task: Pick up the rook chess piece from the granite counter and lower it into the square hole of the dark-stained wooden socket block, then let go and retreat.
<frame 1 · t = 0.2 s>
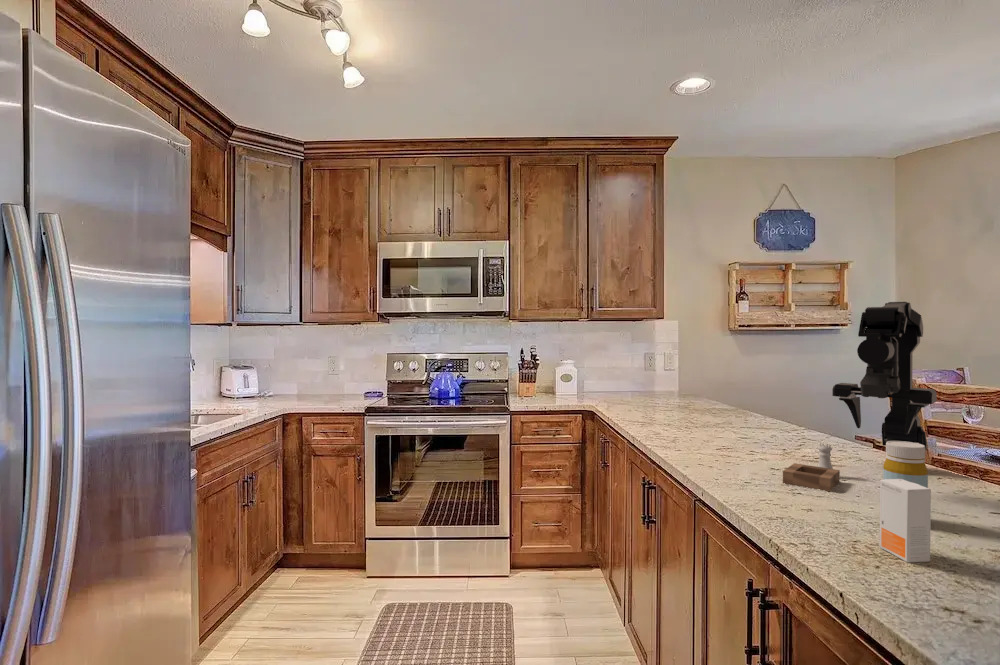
hand: (882, 430, 124), 14 cm above the worktop, tool pointing down, fingers open, 9 cm apart
rook chess piece: (824, 476, 138), on the worktop
skincare box: (904, 556, 91), on the worktop
socket: (811, 482, 132), on the worktop
bottle: (904, 521, 107), on the worktop
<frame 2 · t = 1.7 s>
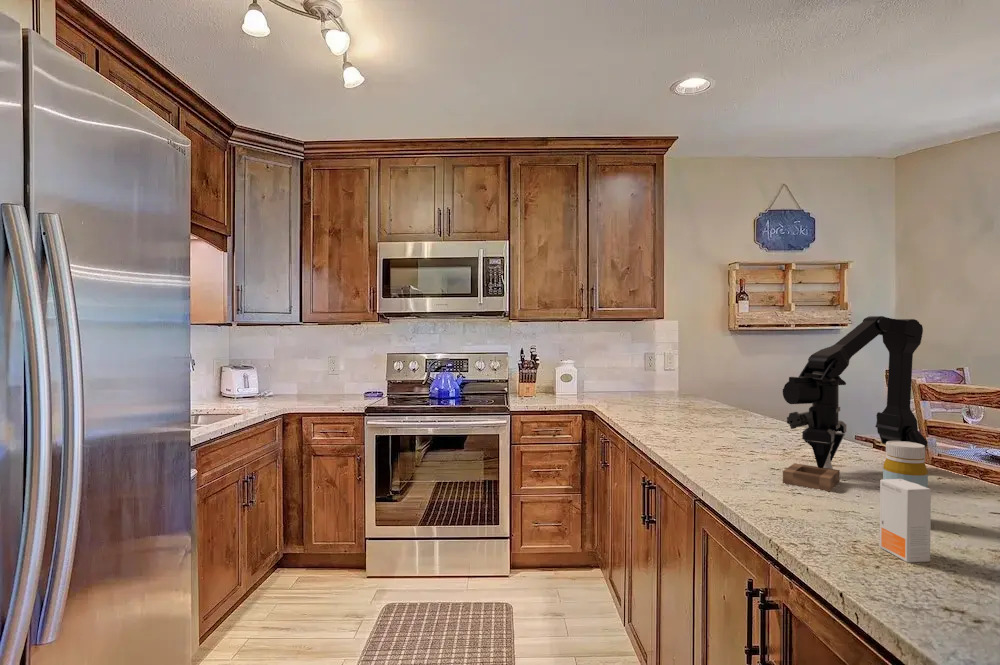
hand: (824, 464, 138), 3 cm above the worktop, tool pointing down, fingers open, 9 cm apart
nothing on the worktop moved.
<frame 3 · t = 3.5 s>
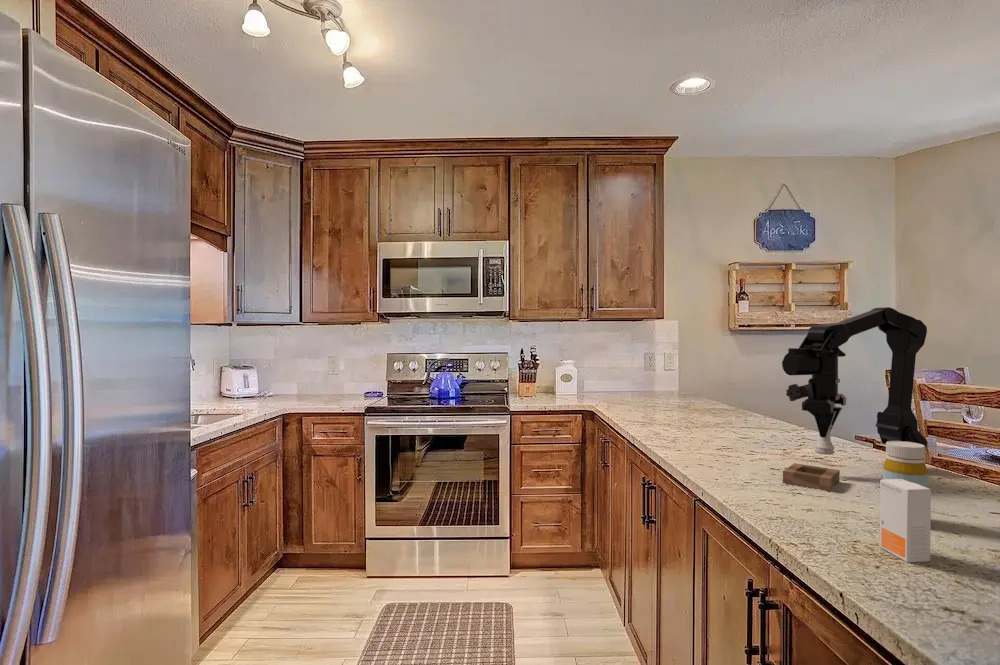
hand: (824, 436, 138), 10 cm above the worktop, tool pointing down, fingers closed on rook chess piece, 3 cm apart
rook chess piece: (824, 453, 138), point 6 cm above the worktop, touching gripper
everything else where it was.
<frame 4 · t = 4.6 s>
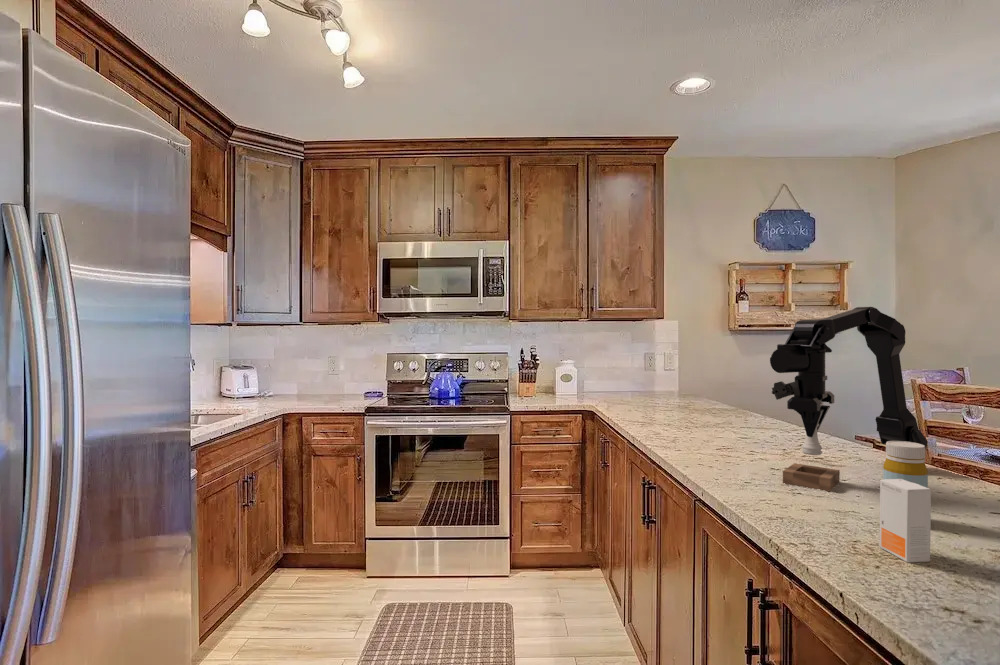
hand: (811, 435, 132), 11 cm above the worktop, tool pointing down, fingers closed on rook chess piece, 3 cm apart
rook chess piece: (811, 453, 133), point 7 cm above the worktop, touching gripper
everything else where it was.
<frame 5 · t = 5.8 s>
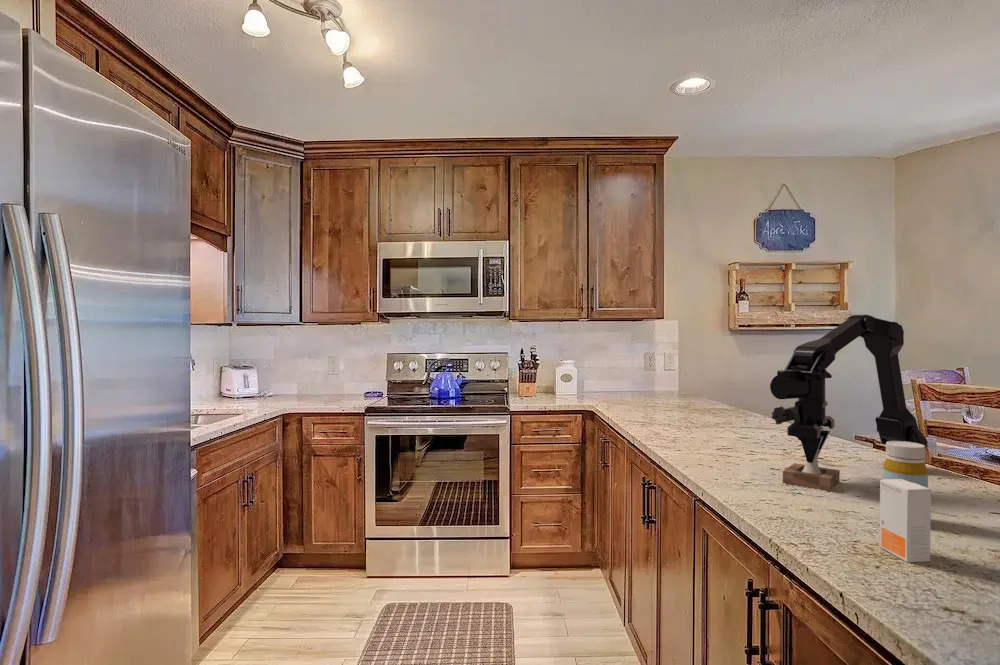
hand: (811, 461, 132), 5 cm above the worktop, tool pointing down, fingers closed on rook chess piece, 3 cm apart
rook chess piece: (811, 479, 133), point 1 cm above the worktop, touching gripper
everything else where it was.
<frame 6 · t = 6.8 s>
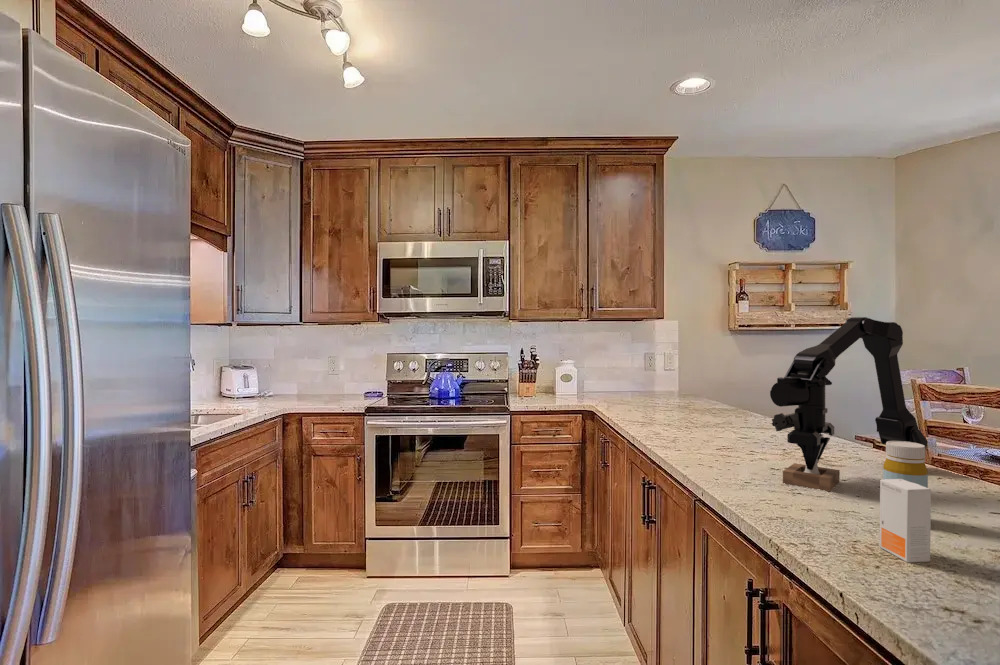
hand: (811, 468, 133), 4 cm above the worktop, tool pointing down, fingers closed on rook chess piece, 3 cm apart
rook chess piece: (811, 483, 133), resting in socket, touching gripper
everything else where it was.
when the fingers open (4 cm above the worktop, at t = 7.0 s): rook chess piece stays where it is, resting in socket.
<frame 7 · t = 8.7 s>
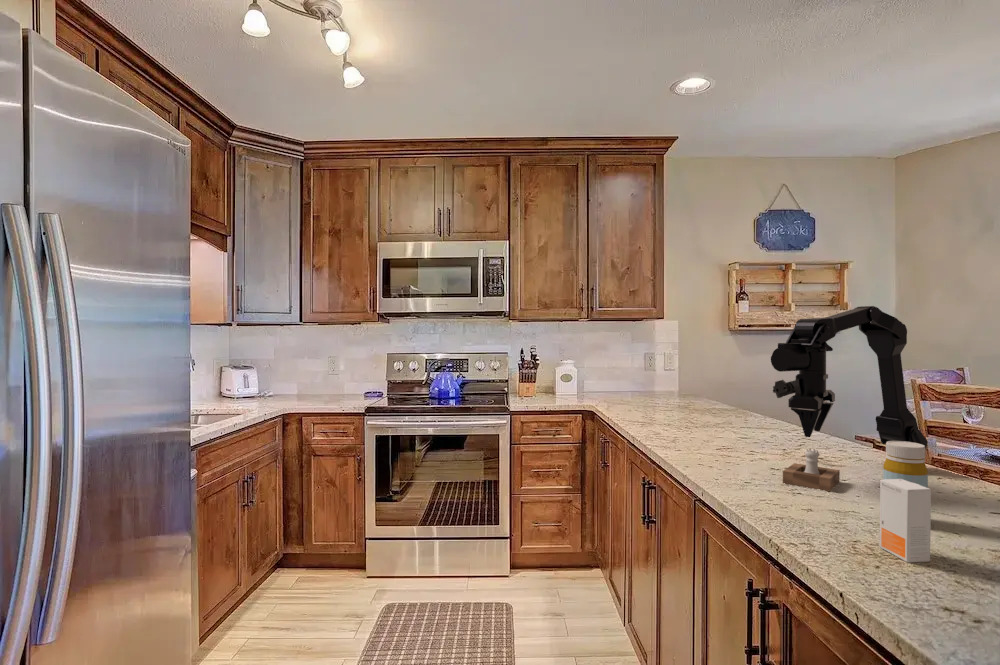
hand: (812, 434, 133), 12 cm above the worktop, tool pointing down, fingers open, 9 cm apart
rook chess piece: (811, 483, 133), resting in socket
everything else where it was.
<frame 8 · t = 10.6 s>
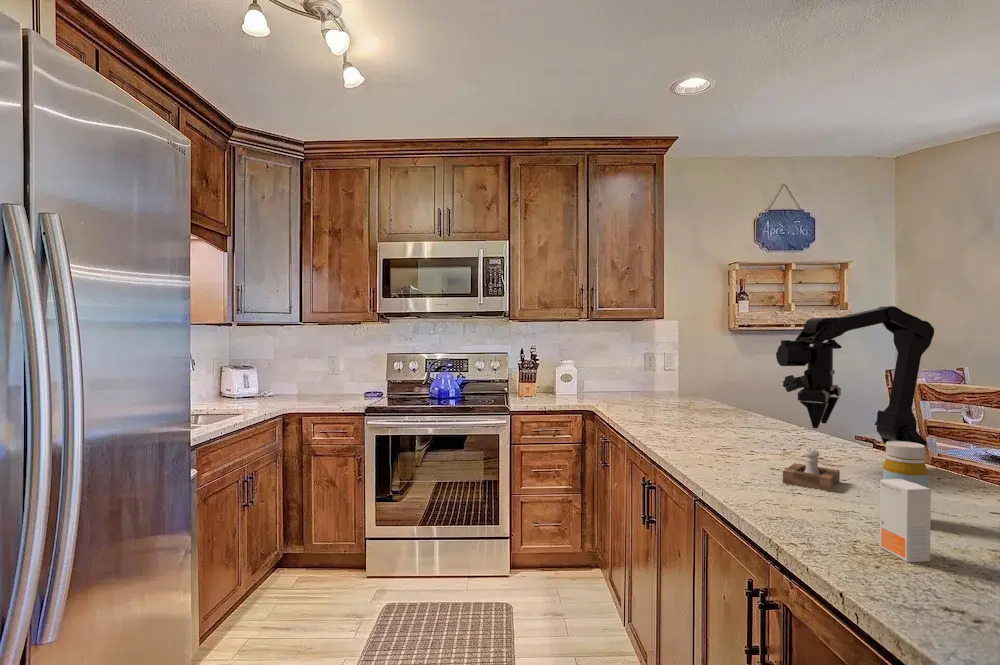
hand: (819, 425, 143), 12 cm above the worktop, tool pointing down, fingers open, 9 cm apart
nothing on the worktop moved.
at the end: rook chess piece 0.3 cm off-centre on the socket, point 0.0 cm above the socket's base; rook chess piece tilted 0°; the gripper is holding nothing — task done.
